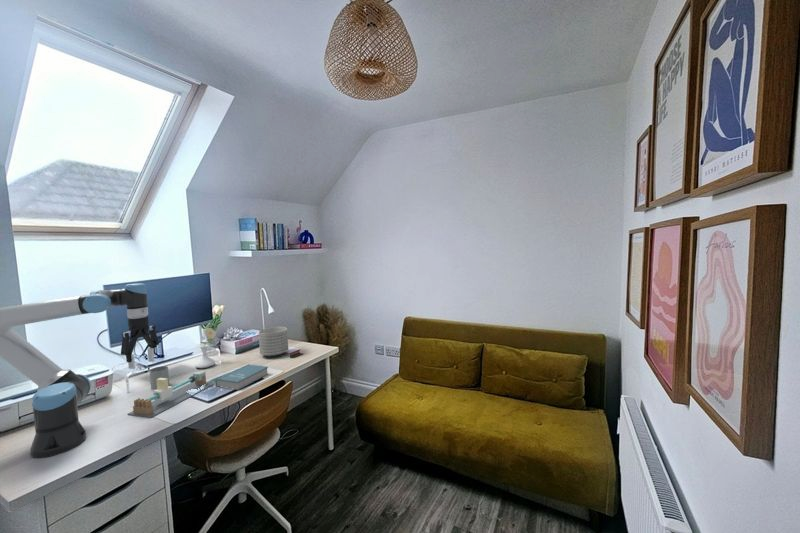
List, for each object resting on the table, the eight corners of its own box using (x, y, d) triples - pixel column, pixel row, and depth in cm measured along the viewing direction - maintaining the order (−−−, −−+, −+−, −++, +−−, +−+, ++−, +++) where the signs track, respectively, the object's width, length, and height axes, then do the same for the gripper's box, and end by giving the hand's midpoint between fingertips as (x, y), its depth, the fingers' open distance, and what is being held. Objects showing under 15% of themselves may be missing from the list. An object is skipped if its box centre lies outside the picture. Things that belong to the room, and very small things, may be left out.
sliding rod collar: (161, 400, 156) (159, 381, 156) (153, 400, 157) (152, 381, 157) (172, 395, 162) (171, 376, 161) (165, 394, 163) (164, 376, 162)
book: (238, 391, 173) (237, 382, 173) (215, 387, 179) (215, 378, 178) (268, 374, 195) (267, 366, 194) (247, 371, 200) (247, 364, 200)
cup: (159, 389, 176) (157, 372, 176) (147, 389, 178) (145, 371, 177) (173, 383, 185) (171, 366, 184) (161, 382, 186) (159, 365, 186)
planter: (283, 348, 243) (281, 325, 242) (292, 355, 228) (291, 330, 227) (256, 354, 231) (255, 330, 230) (264, 361, 216) (263, 335, 215)
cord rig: (151, 417, 147) (150, 402, 146) (127, 414, 150) (126, 399, 149) (214, 384, 182) (213, 371, 181) (193, 382, 185) (192, 370, 184)
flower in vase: (200, 371, 202) (198, 332, 201) (191, 367, 208) (189, 330, 207) (221, 364, 214) (219, 327, 212) (212, 361, 220) (209, 325, 218)
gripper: (119, 322, 137) (124, 374, 139) (166, 312, 158) (169, 357, 159) (106, 322, 139) (110, 373, 140) (154, 312, 159) (157, 356, 161)
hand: (142, 364), depth 150 cm, fingers open, 8 cm apart
